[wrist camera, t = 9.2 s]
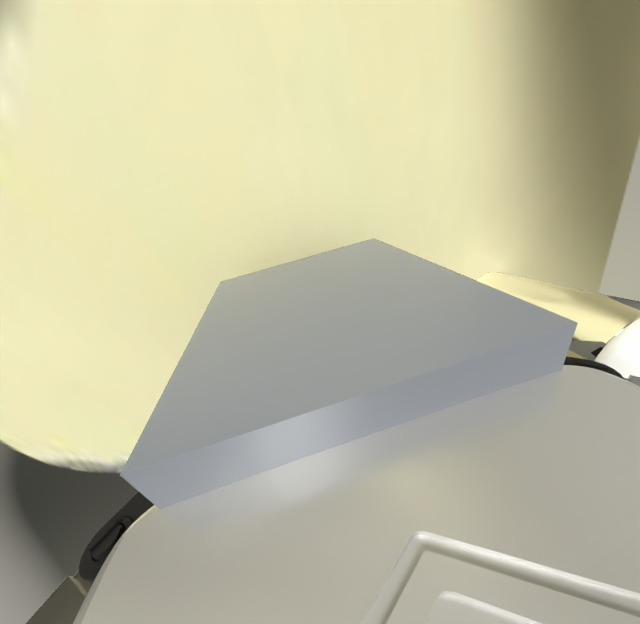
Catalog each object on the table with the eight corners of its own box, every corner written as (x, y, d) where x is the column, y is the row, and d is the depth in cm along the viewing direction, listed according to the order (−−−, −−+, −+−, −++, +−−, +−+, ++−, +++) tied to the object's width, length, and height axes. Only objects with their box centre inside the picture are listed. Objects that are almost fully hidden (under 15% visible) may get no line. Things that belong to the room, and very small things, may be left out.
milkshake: (527, 293, 18) (779, 384, 9) (465, 332, 18) (650, 454, 10) (519, 242, 16) (835, 293, 7) (449, 286, 16) (667, 388, 7)
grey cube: (220, 282, 11) (119, 474, 4) (373, 238, 12) (577, 322, 4) (272, 394, 15) (278, 612, 7) (387, 357, 15) (510, 521, 8)
